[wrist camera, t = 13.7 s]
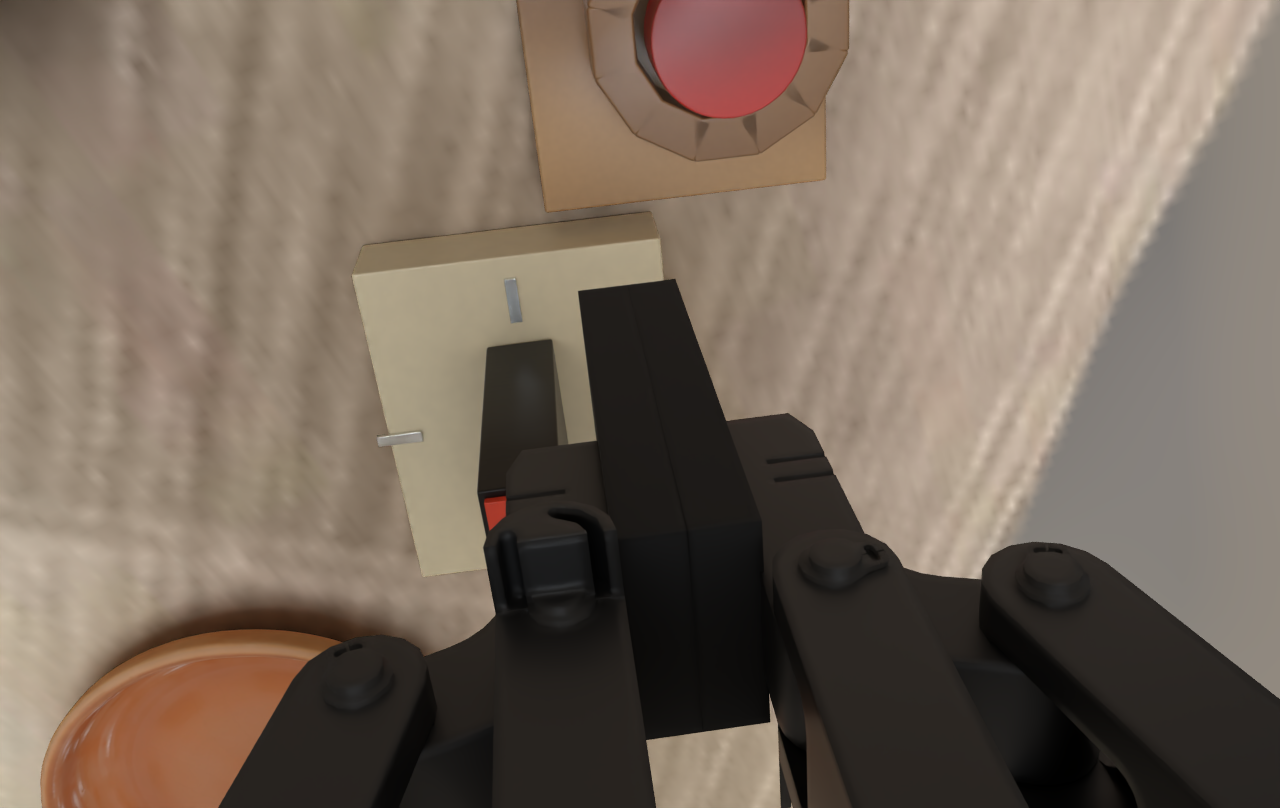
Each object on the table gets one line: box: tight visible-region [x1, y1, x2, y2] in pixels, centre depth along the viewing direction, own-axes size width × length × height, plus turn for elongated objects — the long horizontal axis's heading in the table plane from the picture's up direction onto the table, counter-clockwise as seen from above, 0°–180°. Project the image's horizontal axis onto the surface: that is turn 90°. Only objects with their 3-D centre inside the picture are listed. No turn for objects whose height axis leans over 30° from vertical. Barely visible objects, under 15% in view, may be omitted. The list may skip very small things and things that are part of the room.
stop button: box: [644, 0, 807, 119], centre depth 28 cm, size 4×4×2 cm
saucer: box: [40, 629, 342, 808], centre depth 41 cm, size 16×16×3 cm
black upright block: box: [477, 339, 568, 538], centre depth 30 cm, size 6×2×8 cm, turn 6°
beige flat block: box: [352, 212, 664, 577], centre depth 35 cm, size 11×10×3 cm
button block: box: [516, 0, 849, 213], centre depth 30 cm, size 10×9×3 cm
